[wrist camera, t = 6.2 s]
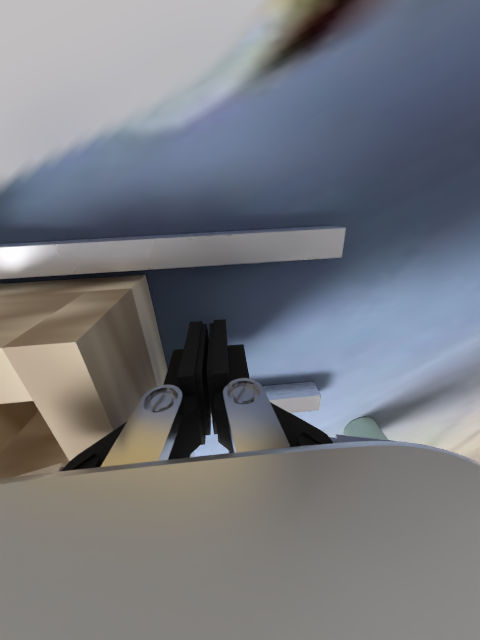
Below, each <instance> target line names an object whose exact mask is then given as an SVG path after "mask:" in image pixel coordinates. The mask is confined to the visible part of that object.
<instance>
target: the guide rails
mask: <svg viewBox="0 0 480 640" xmlns="http://www.w3.org/2000/svg"><path fill="white" fill-rule="evenodd" d="M345 232H346V228H344V227H339V226H315V227H297V228H279V229H261V230H243V231H225V232H208V233H190V234H172V235H154V236H136V237H118V238H100V239H82V240H64V241H46V242H28V243H10V244H0V279H10V278H25V277H41V276H57V275H73V274H89V273H104V272H120V271H136V270H152V269H168V268H183V267H199V266H215V265H231V264H247V263H262V262H278V261H294V260H310V259H326V258H341V257H342V252H343V245H344V238H345ZM262 387H263V388H264V390H265V393H266V395H267V397H268V399H269V401H270V402H271V403H273V404H275V405H277V406H278V407H280V408H282V409H284V410H285V411H287V412H289V413H294V412H304V411H314V410H319V406H320V399H321V394H320V392H319V391H318V389H317V387H316V385H315V383H314V381H313V382H302V383H292V384H281V385H270V386H262ZM211 421H212V414H211Z"/></svg>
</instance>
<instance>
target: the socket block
mask: <svg viewBox="0 0 480 640" xmlns="http://www.w3.org/2000/svg"><path fill="white" fill-rule="evenodd" d="M167 371H168V369H167V365H166V361H165V356H164V352H163V348H162V343H161V339H160V335H159V330H158V326H157V322H156V317H155V313H154V309H153V304H152V300H151V295H150V291H149V287H148V282H147V278H146V275H131V276H116V277H100V278H84V279H69V280H53V281H38V282H22V283H7V284H0V479H5V478H12V477H16V476H19V475H22V474H26V473H29V472H33V471H36V470H39V469H43V468H46V467H49V466H53V465H56V464H59V463H62V464H63V466H66V465H67V464H68V463H69V461H71V460H72V459H73V458H74V457H76V456H77V455H78V454H80V453H81V452H83V451H84V450H85V449H87V448H88V447H90V446H91V445H93V444H94V443H96V442H97V441H99V440H100V439H102V438H103V437H105V436H106V435H108V434H109V433H111V432H112V431H114V430H115V429H116V428H118V427H119V426H121V425H122V424H124V423H125V422H127V421H128V419H129V418H130V416H131V414H132V413H133V411H134V409H135V408H136V406H137V404H138V403H139V401H140V399H141V398H142V397H143V395H144V394H145V393H147V392H148V391H149V390H151V389H153V388H155V387H157V386H161V385H163V384H164V381H165V377H166V374H167Z"/></svg>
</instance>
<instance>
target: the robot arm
mask: <svg viewBox="0 0 480 640" xmlns="http://www.w3.org/2000/svg"><path fill="white" fill-rule="evenodd" d="M211 414H212V422H213V429H214V434H218V441H219V443H220V444H222V445H223V446H224V447H225V448H227V449H228V450H229V453H228V454H219V455H209V456H199V457H194V450H195V449H197V448H198V447H199V446H200V445H203V444H205V435H210V430H211ZM0 640H480V463H478V462H476V461H474V460H472V459H470V458H467V457H464V456H462V455H459V454H456V453H453V452H450V451H447V450H443V449H439V448H435V447H430V446H426V445H422V444H415V443H407V442H398V441H390V440H381V439H372V438H363V437H354V436H345V435H336V438H331V437H328V435H327V434H325V433H324V432H322V431H321V430H319V429H318V428H316V427H314V426H312V425H310V424H309V423H307V422H305V421H303V420H302V419H300V418H298V417H296V416H294V415H293V414H291V413H289V412H287V411H285V410H284V409H282V408H280V407H278V406H277V405H275V404H273V403H271V402H270V401H269V399H268V397H267V395H266V393H265V390H264V388H263V387H262V385H261V384H260V383H259V382H257V381H256V380H253V379H249V373H248V368H247V362H246V356H245V351H244V345H230V346H227V334H226V321H225V320H214V323H213V324H210V330H209V339H208V330H207V324H203V323H202V321H200V322H190V325H189V329H188V334H187V338H186V342H185V346H184V349H179V350H174V351H173V354H172V358H171V361H170V364H169V367H168V371H167V374H166V377H165V381H164V384H163V385H161V386H157V387H155V388H153V389H151V390H149V391H148V392H147V393H145V394H144V395H143V397H142V398H141V399H140V401H139V403H138V404H137V406H136V408H135V409H134V411H133V413H132V414H131V416H130V418H129V419H128V421H127V422H125V423H124V424H122V425H121V426H119V427H118V428H116V429H115V430H114V431H112V432H111V433H109V434H108V435H106V436H105V437H103V438H102V439H100V440H99V441H97V442H96V443H94V444H93V445H91V446H90V447H88V448H87V449H85V450H84V451H83V452H81V453H80V454H78V455H77V456H76V457H74V458H73V459H72V460H71V461H69V463H68V464H67V465H66V466H63V464H62V463H59V464H56V465H53V466H49V467H46V468H43V469H39V470H36V471H33V472H29V473H26V474H22V475H19V476H16V477H12V478H5V479H0Z"/></svg>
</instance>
